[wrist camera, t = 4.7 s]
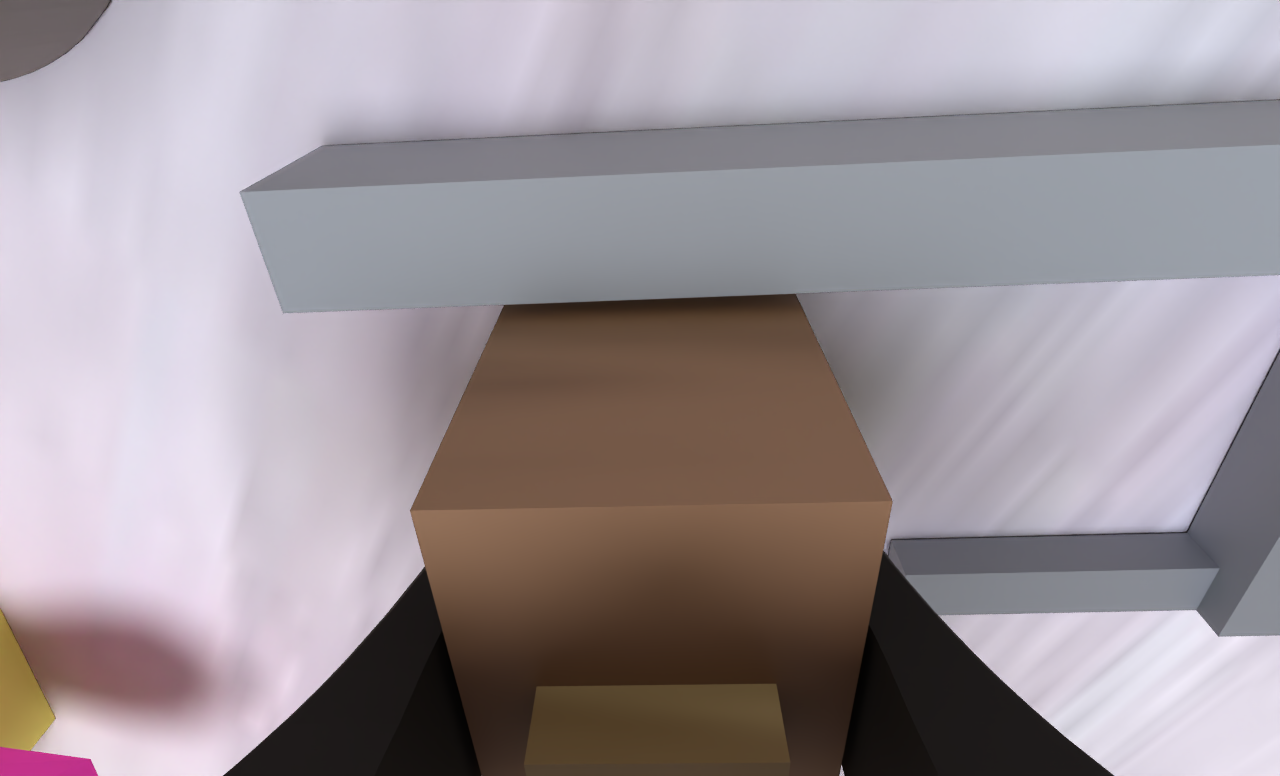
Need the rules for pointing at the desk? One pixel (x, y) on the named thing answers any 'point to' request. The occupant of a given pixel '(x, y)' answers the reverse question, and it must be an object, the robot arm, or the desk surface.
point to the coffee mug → (42, 31)
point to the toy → (27, 719)
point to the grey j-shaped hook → (843, 272)
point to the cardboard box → (654, 541)
